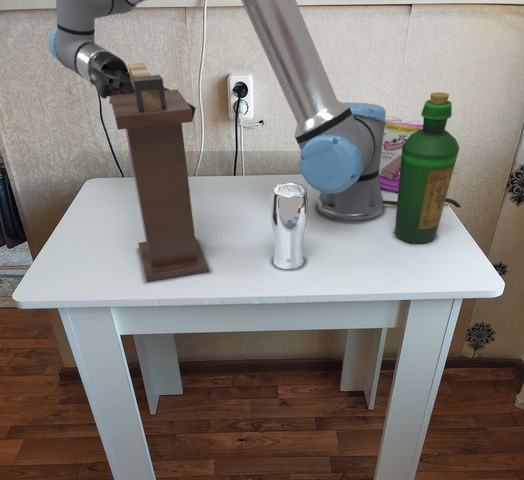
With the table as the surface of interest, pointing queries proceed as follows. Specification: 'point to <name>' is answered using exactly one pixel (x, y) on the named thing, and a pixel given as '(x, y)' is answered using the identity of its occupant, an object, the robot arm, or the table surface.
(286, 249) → the beer glass
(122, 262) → the table surface
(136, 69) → the long wooden bar
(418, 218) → the bottle
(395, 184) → the candy bar box
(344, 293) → the table surface
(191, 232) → the wooden pedestal stand
